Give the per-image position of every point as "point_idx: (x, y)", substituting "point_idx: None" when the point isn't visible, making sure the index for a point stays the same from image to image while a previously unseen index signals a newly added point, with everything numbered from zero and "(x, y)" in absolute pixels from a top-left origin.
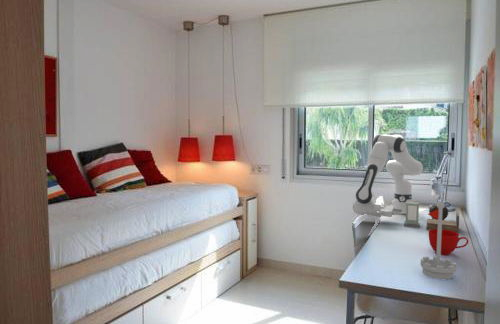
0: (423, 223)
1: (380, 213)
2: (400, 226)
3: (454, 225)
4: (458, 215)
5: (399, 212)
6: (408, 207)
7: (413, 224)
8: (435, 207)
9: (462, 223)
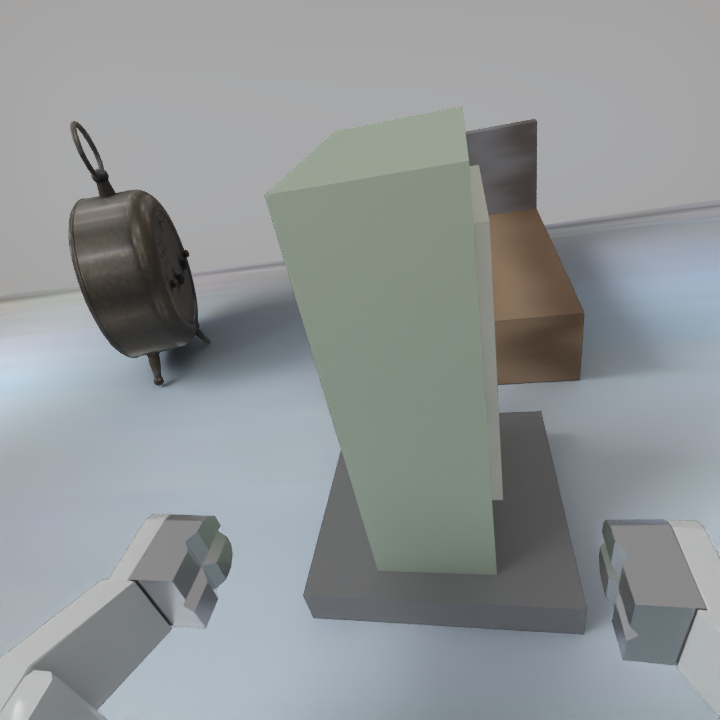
0: (268, 422)
1: None
2: (656, 703)
3: (528, 215)
4: (511, 123)
5: (703, 539)
6: (491, 267)
7: (516, 470)
8: (147, 230)
9: (227, 277)
